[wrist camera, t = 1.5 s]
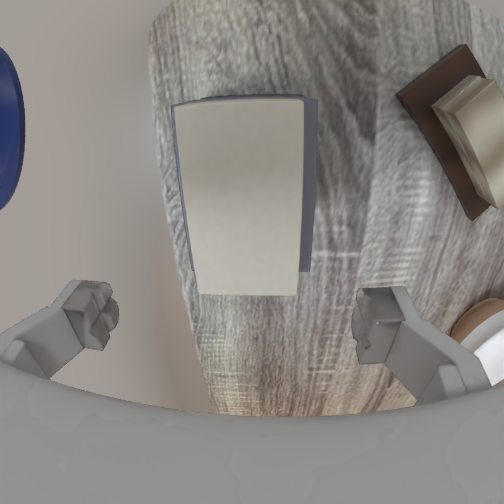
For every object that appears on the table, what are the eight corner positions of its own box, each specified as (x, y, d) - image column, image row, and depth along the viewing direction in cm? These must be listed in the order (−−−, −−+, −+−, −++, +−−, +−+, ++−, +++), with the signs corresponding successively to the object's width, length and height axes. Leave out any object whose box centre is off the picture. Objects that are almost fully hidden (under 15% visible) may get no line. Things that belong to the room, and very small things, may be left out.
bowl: (453, 369, 41) (467, 404, 35) (419, 334, 37) (437, 378, 30) (521, 315, 34) (541, 347, 28) (504, 263, 30) (534, 300, 23)
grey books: (206, 97, 23) (169, 105, 15) (300, 94, 23) (318, 99, 14) (215, 211, 29) (191, 271, 20) (299, 211, 28) (310, 272, 20)
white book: (187, 103, 15) (173, 107, 13) (299, 98, 14) (304, 100, 12) (205, 271, 20) (198, 294, 18) (295, 272, 20) (297, 296, 18)
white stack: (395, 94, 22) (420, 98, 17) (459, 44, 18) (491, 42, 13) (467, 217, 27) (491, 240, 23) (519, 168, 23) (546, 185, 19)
